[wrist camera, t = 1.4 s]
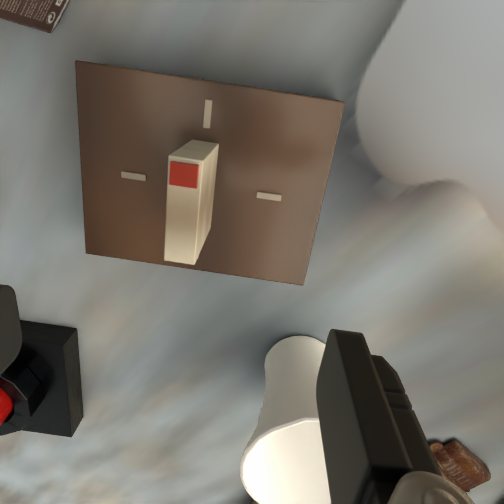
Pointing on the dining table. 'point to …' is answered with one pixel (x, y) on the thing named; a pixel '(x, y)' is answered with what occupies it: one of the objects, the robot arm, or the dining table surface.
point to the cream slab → (189, 200)
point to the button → (5, 406)
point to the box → (33, 12)
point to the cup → (288, 429)
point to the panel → (227, 172)
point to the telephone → (457, 465)
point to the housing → (44, 382)
